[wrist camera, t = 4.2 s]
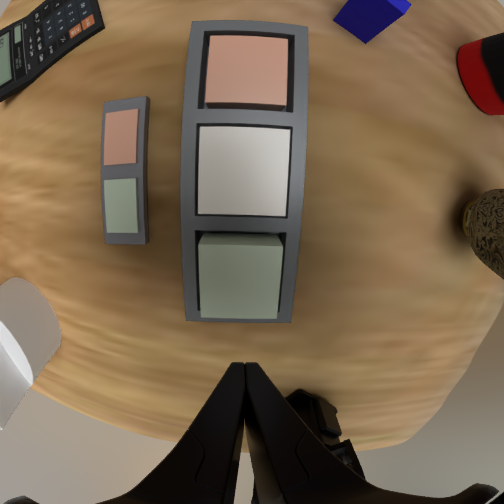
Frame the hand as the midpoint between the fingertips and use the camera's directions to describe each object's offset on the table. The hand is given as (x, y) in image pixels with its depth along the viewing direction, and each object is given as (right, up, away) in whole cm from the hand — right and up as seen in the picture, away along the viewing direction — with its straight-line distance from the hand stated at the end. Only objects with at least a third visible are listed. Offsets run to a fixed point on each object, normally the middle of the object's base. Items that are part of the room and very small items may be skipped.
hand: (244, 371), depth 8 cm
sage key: (-1, +3, +9) cm, 9 cm away
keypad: (0, +9, +9) cm, 13 cm away
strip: (-8, +9, +8) cm, 15 cm away
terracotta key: (0, +15, +6) cm, 16 cm away
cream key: (0, +9, +7) cm, 11 cm away
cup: (+20, +7, +11) cm, 24 cm away
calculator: (-18, +23, +4) cm, 30 cm away
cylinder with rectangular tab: (-22, -3, +12) cm, 26 cm away
